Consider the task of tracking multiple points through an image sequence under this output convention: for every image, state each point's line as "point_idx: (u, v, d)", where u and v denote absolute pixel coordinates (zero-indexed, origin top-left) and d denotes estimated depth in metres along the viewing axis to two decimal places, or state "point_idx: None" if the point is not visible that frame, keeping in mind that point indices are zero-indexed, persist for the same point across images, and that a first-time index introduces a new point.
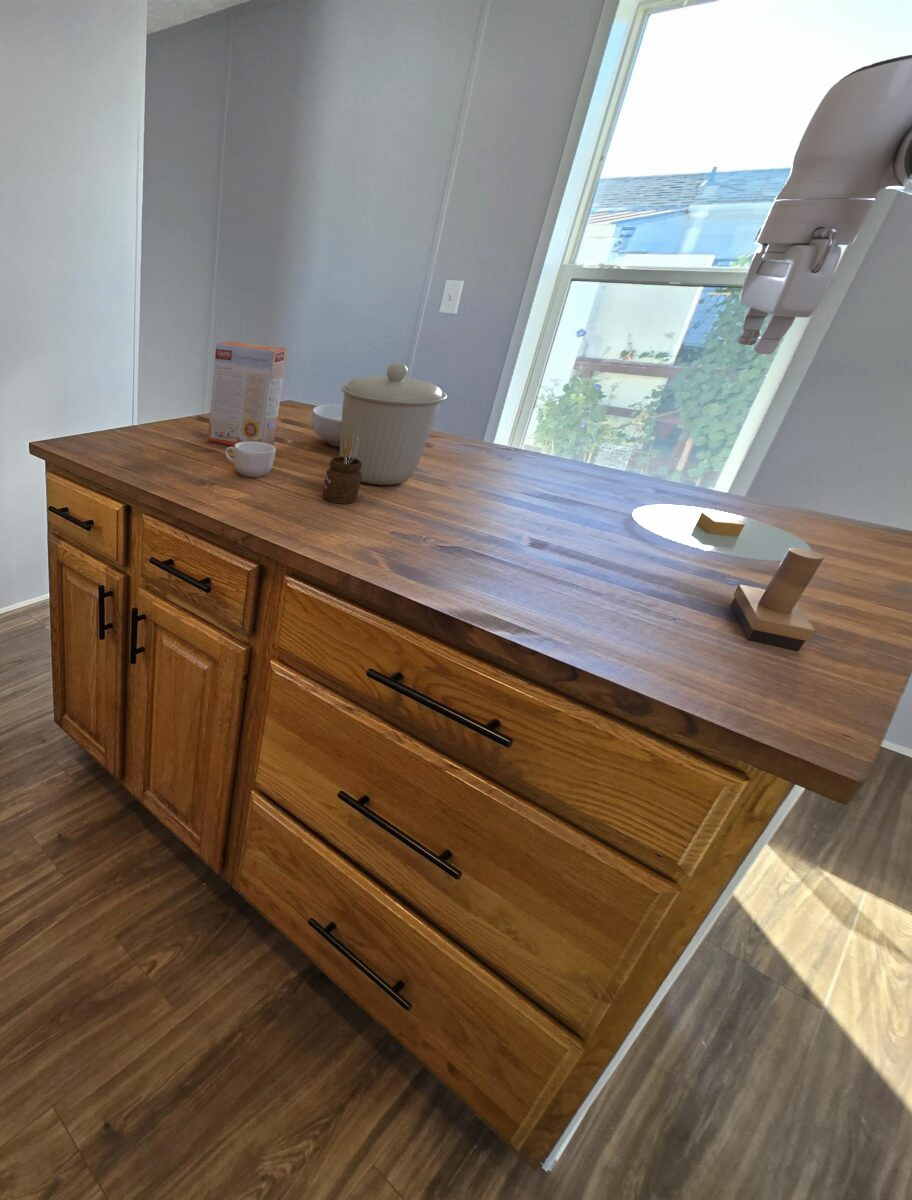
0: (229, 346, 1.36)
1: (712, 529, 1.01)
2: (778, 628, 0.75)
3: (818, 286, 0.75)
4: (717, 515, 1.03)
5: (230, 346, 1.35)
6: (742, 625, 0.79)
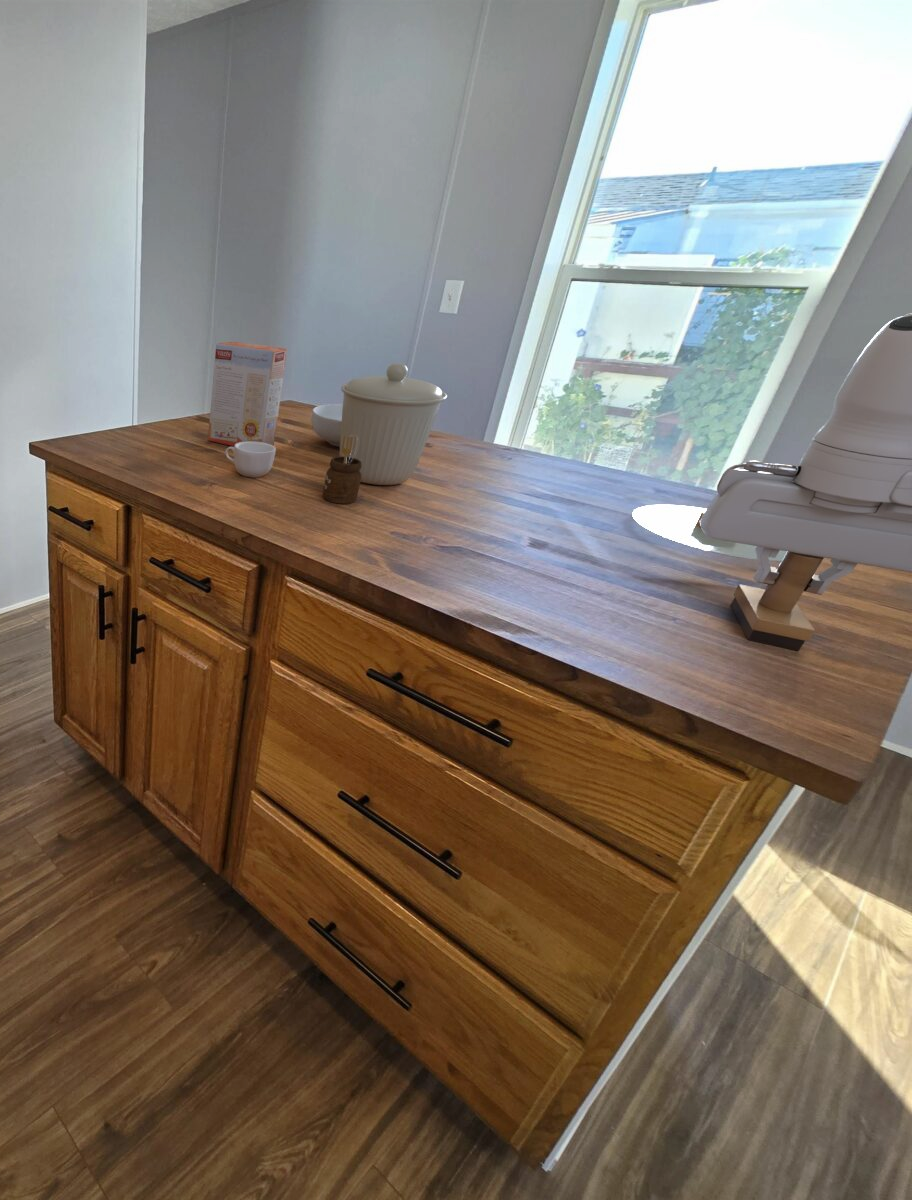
0: (229, 347, 1.36)
1: None
2: (778, 628, 0.75)
3: (713, 509, 0.77)
4: None
5: (230, 346, 1.35)
6: (742, 626, 0.79)
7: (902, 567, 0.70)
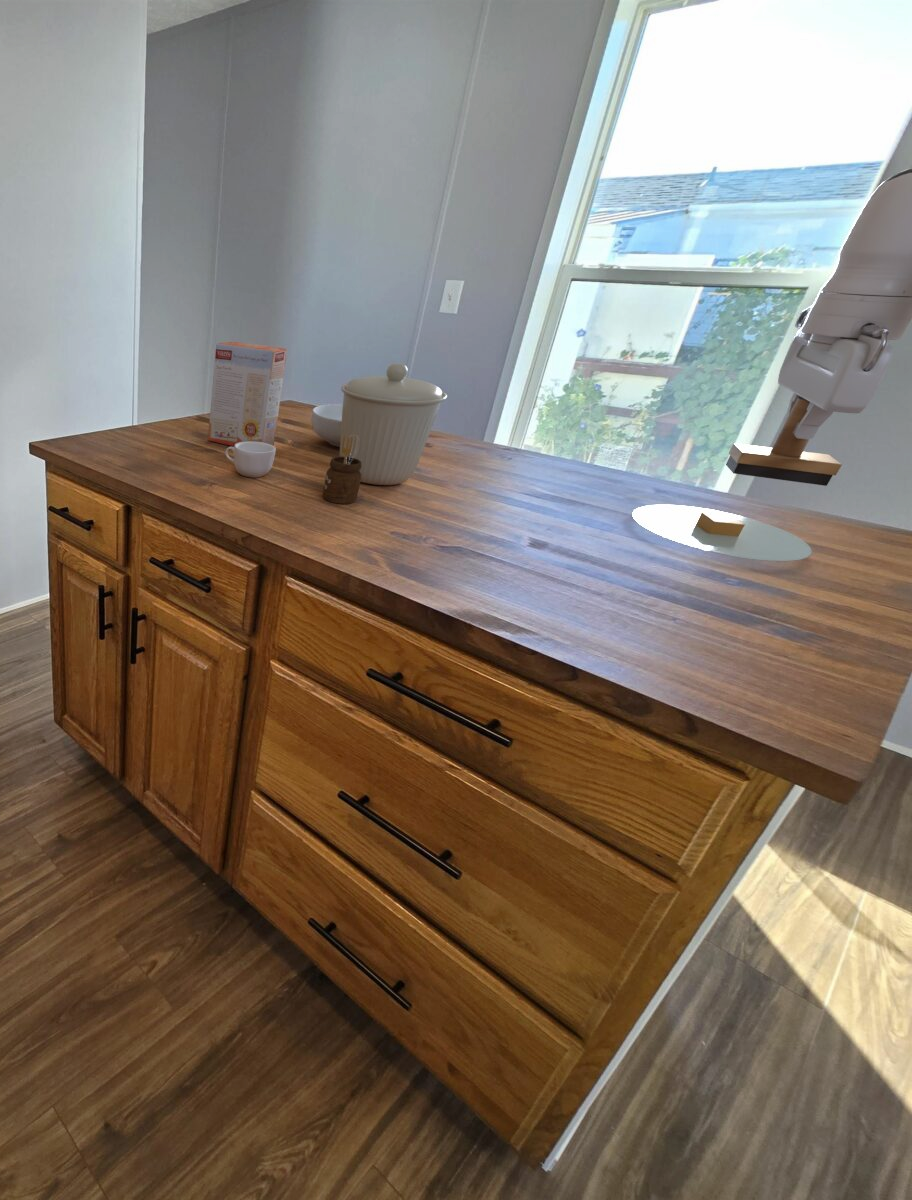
0: (229, 347, 1.36)
1: (712, 529, 1.01)
2: None
3: (870, 384, 0.74)
4: (717, 515, 1.03)
5: (230, 346, 1.35)
6: (795, 479, 0.86)
7: None
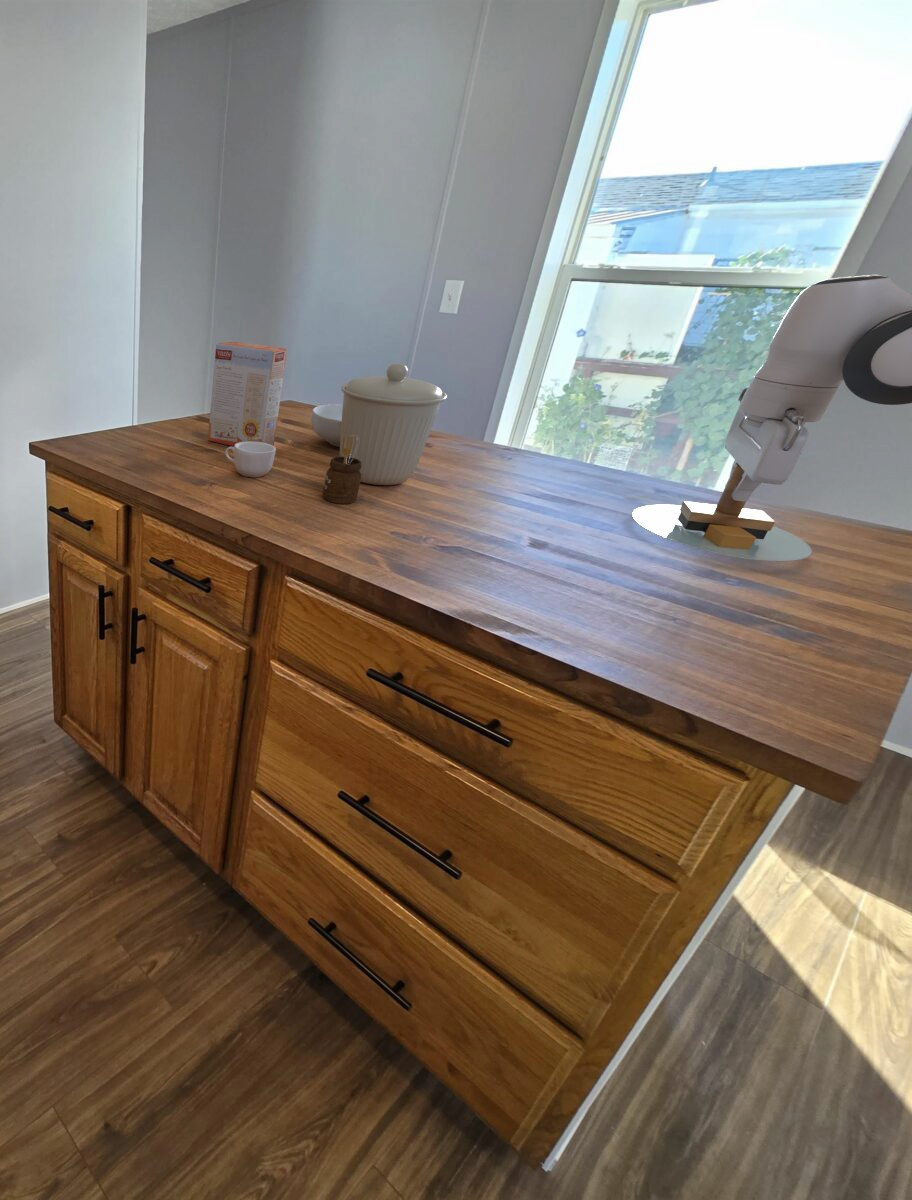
0: (229, 347, 1.36)
1: (722, 543, 0.96)
2: None
3: (788, 462, 0.87)
4: (726, 527, 0.98)
5: (230, 346, 1.35)
6: None
7: None
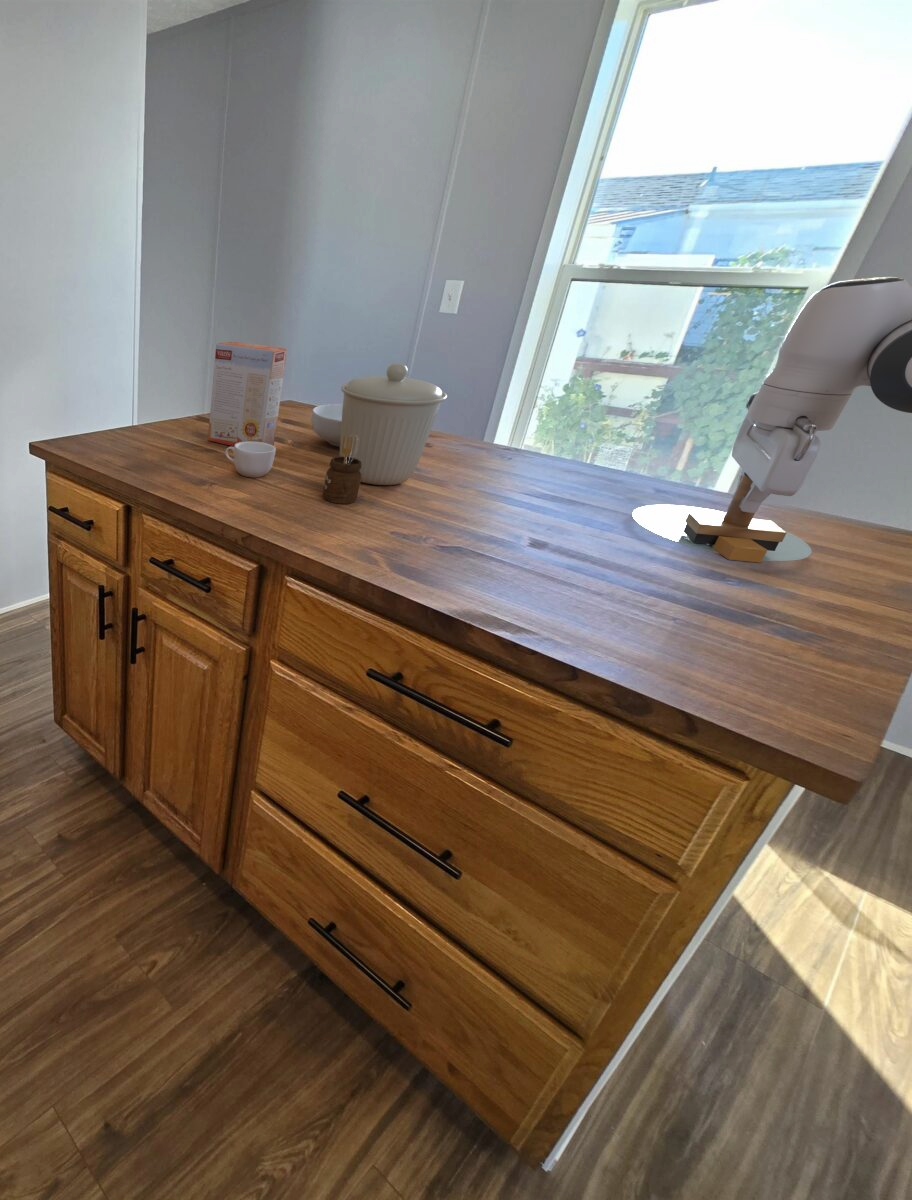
0: (229, 347, 1.36)
1: (732, 555, 0.93)
2: None
3: (800, 472, 0.83)
4: (736, 539, 0.94)
5: (230, 346, 1.35)
6: None
7: None
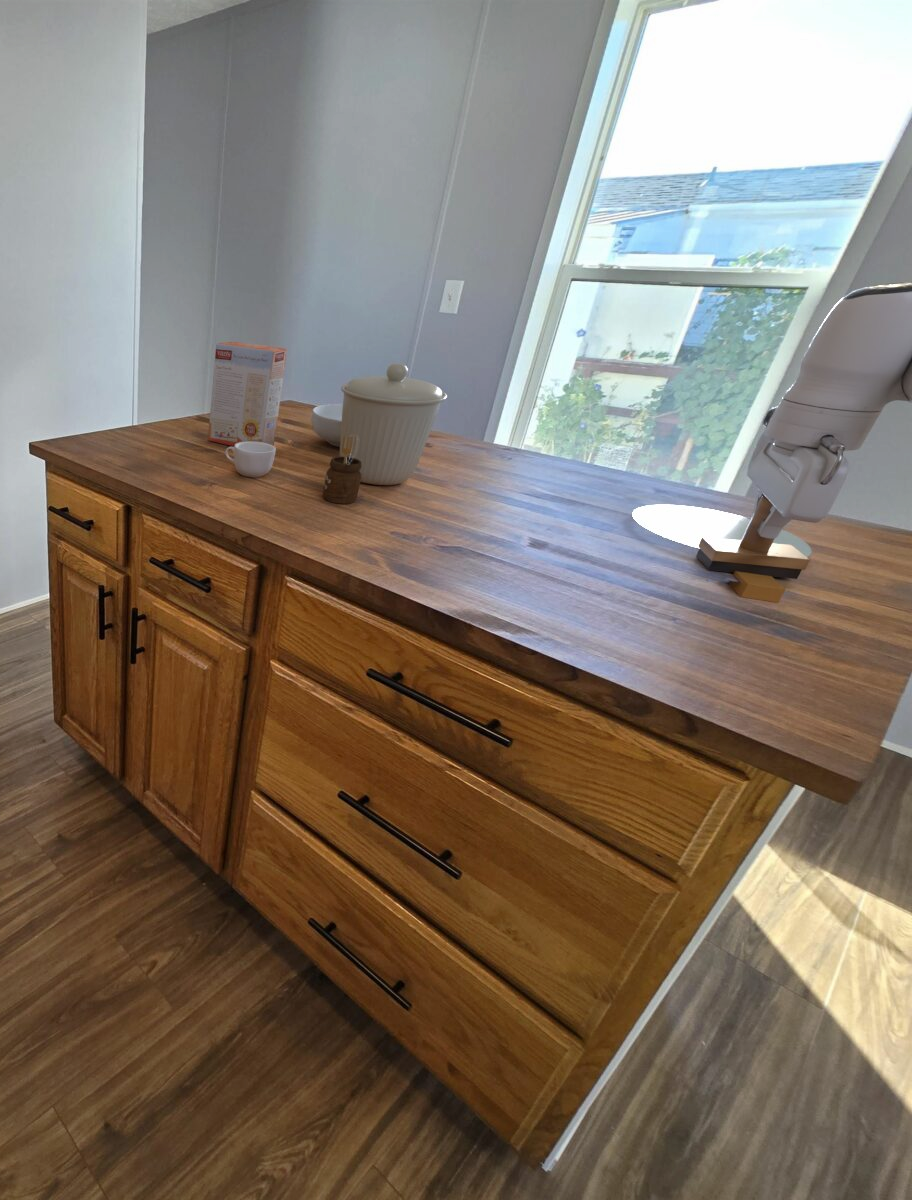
0: (229, 347, 1.36)
1: (745, 593, 0.86)
2: None
3: (827, 497, 0.76)
4: (754, 575, 0.88)
5: (230, 346, 1.35)
6: (767, 574, 0.88)
7: None
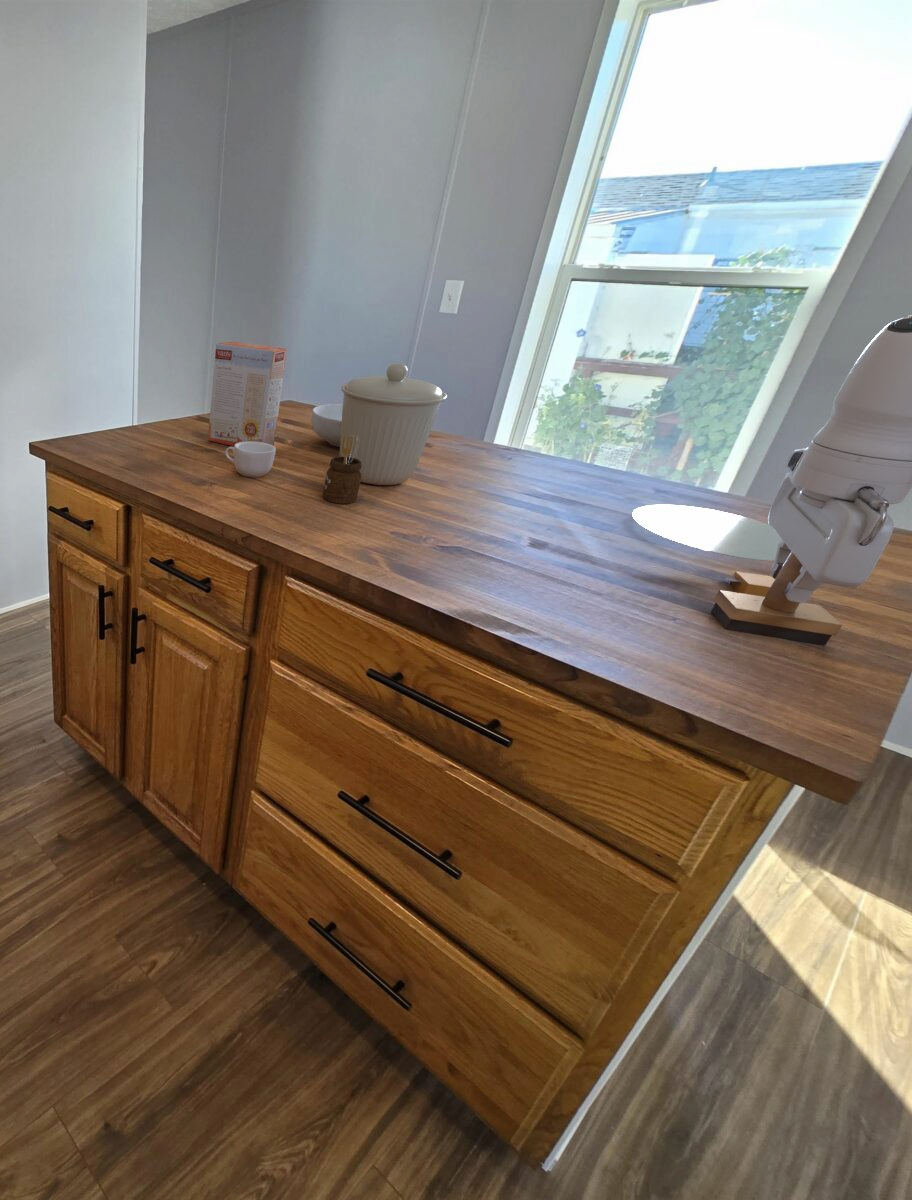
0: (229, 346, 1.36)
1: (746, 593, 0.86)
2: None
3: (867, 560, 0.65)
4: (755, 575, 0.88)
5: (230, 346, 1.35)
6: (792, 638, 0.77)
7: None
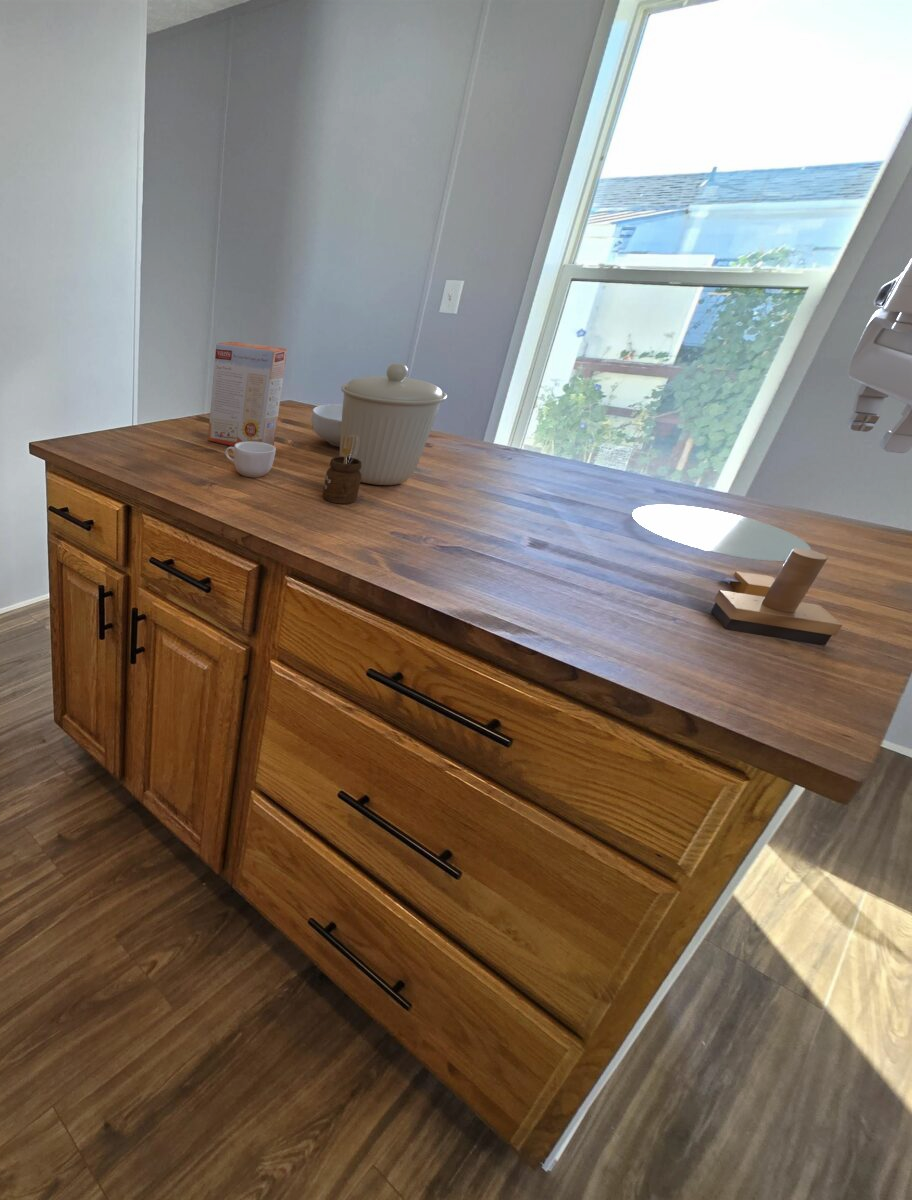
0: (229, 346, 1.36)
1: (746, 593, 0.86)
2: None
3: None
4: (755, 575, 0.88)
5: (230, 346, 1.35)
6: (792, 638, 0.77)
7: None
